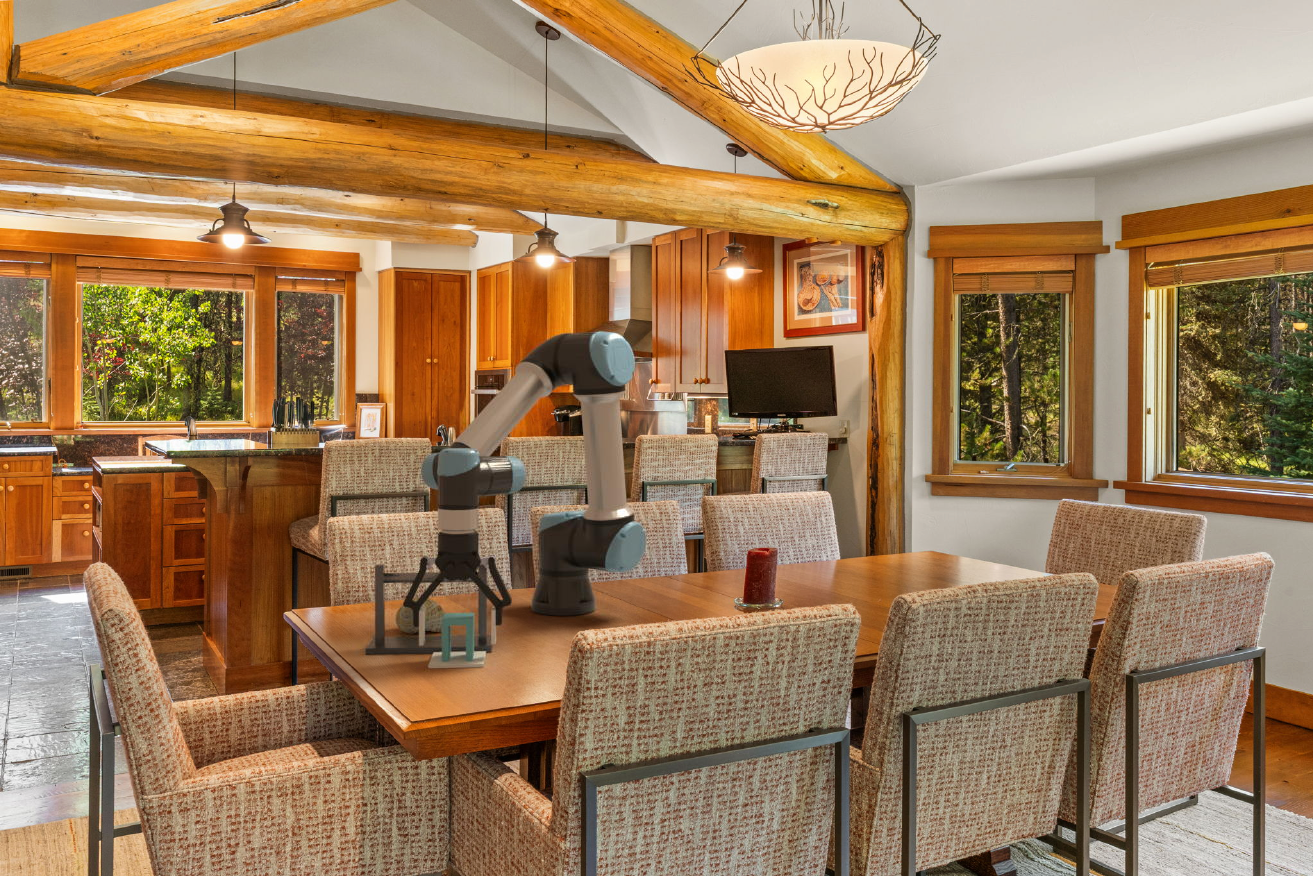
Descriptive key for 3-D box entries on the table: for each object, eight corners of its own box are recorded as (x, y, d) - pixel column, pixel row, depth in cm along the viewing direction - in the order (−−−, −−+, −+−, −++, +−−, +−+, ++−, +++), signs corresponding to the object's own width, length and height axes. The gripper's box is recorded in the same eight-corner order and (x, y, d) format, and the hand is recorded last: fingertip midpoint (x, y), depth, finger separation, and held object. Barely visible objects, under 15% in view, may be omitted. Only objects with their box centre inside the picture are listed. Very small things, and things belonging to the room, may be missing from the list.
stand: (493, 640, 199) (494, 560, 199) (491, 652, 190) (491, 567, 190) (373, 642, 196) (373, 561, 196) (365, 654, 188) (365, 569, 187)
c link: (472, 661, 182) (472, 618, 181) (441, 661, 181) (441, 619, 181) (474, 654, 187) (474, 612, 186) (444, 654, 186) (444, 613, 186)
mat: (485, 654, 189) (486, 651, 189) (483, 667, 180) (483, 664, 180) (433, 655, 188) (433, 652, 188) (428, 668, 179) (428, 665, 179)
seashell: (456, 622, 212) (449, 586, 207) (437, 652, 204) (428, 615, 199) (414, 616, 214) (406, 580, 210) (393, 646, 206) (384, 609, 202)
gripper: (524, 527, 188) (524, 637, 189) (393, 528, 185) (393, 639, 186) (524, 533, 180) (523, 647, 181) (387, 533, 177) (387, 649, 178)
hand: (457, 643), depth 184 cm, fingers open, 13 cm apart
